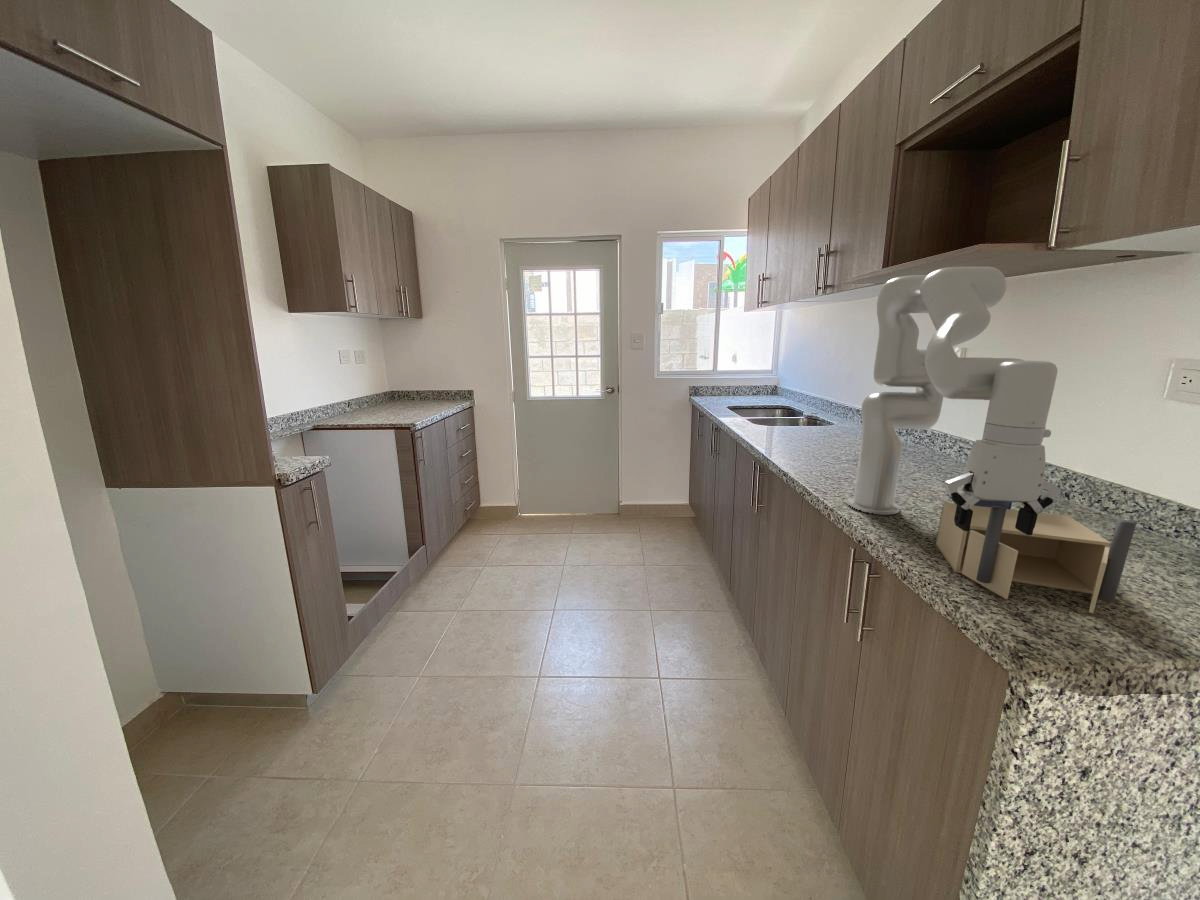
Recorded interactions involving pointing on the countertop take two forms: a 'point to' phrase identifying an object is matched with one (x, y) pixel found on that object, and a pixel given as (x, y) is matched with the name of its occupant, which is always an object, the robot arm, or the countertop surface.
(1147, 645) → the countertop surface
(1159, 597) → the countertop surface
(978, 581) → the flap
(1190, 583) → the countertop surface
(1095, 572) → the wooden cabinet
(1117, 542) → the flap
